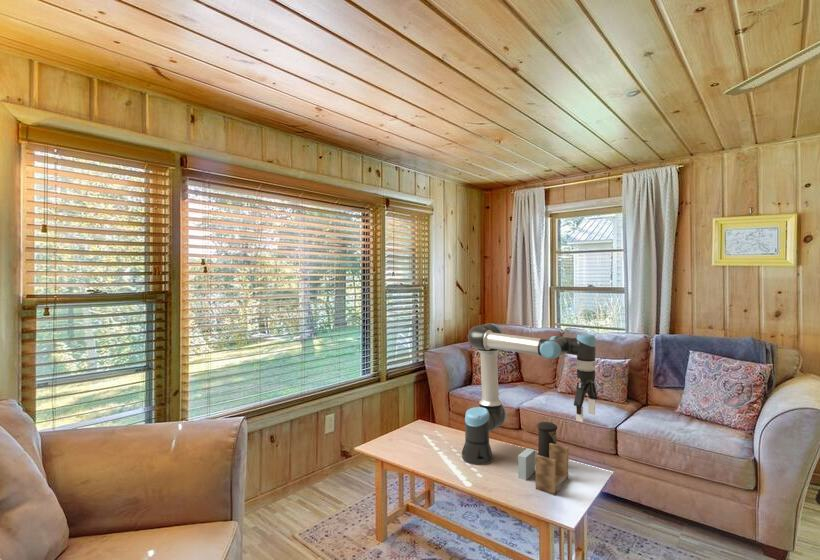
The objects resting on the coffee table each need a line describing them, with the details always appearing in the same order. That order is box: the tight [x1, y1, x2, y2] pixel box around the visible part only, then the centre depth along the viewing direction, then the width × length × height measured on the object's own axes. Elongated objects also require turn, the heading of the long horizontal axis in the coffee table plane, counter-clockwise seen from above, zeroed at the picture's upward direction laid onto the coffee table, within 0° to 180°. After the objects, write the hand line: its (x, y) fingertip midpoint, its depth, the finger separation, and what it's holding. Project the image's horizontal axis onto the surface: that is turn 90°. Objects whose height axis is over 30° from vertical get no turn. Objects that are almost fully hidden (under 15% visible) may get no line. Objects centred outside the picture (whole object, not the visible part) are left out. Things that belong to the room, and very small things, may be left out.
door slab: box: [517, 448, 536, 481], centre depth 184 cm, size 4×10×10 cm, turn 141°
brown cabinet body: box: [535, 443, 569, 496], centre depth 175 cm, size 8×17×14 cm, turn 141°
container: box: [537, 421, 558, 458], centre depth 192 cm, size 9×9×20 cm
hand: (585, 417), depth 180 cm, fingers open, 13 cm apart
